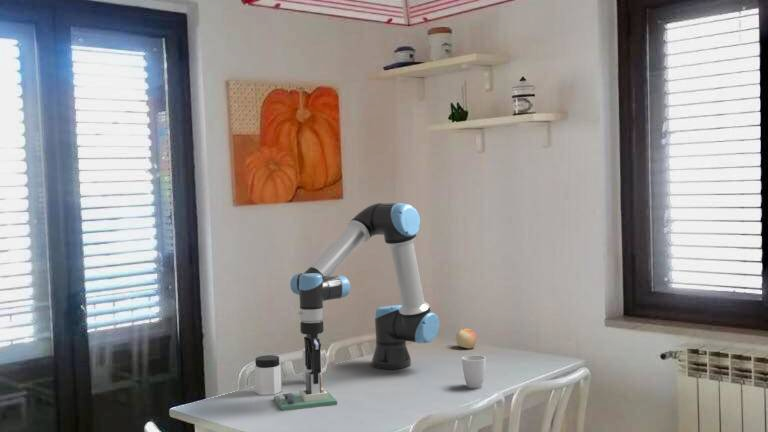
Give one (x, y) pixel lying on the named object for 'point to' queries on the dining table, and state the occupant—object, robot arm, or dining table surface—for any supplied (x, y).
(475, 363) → the cup
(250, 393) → the dining table surface
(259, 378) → the jar
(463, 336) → the apple
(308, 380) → the plug
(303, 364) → the mug
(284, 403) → the board
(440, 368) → the dining table surface
